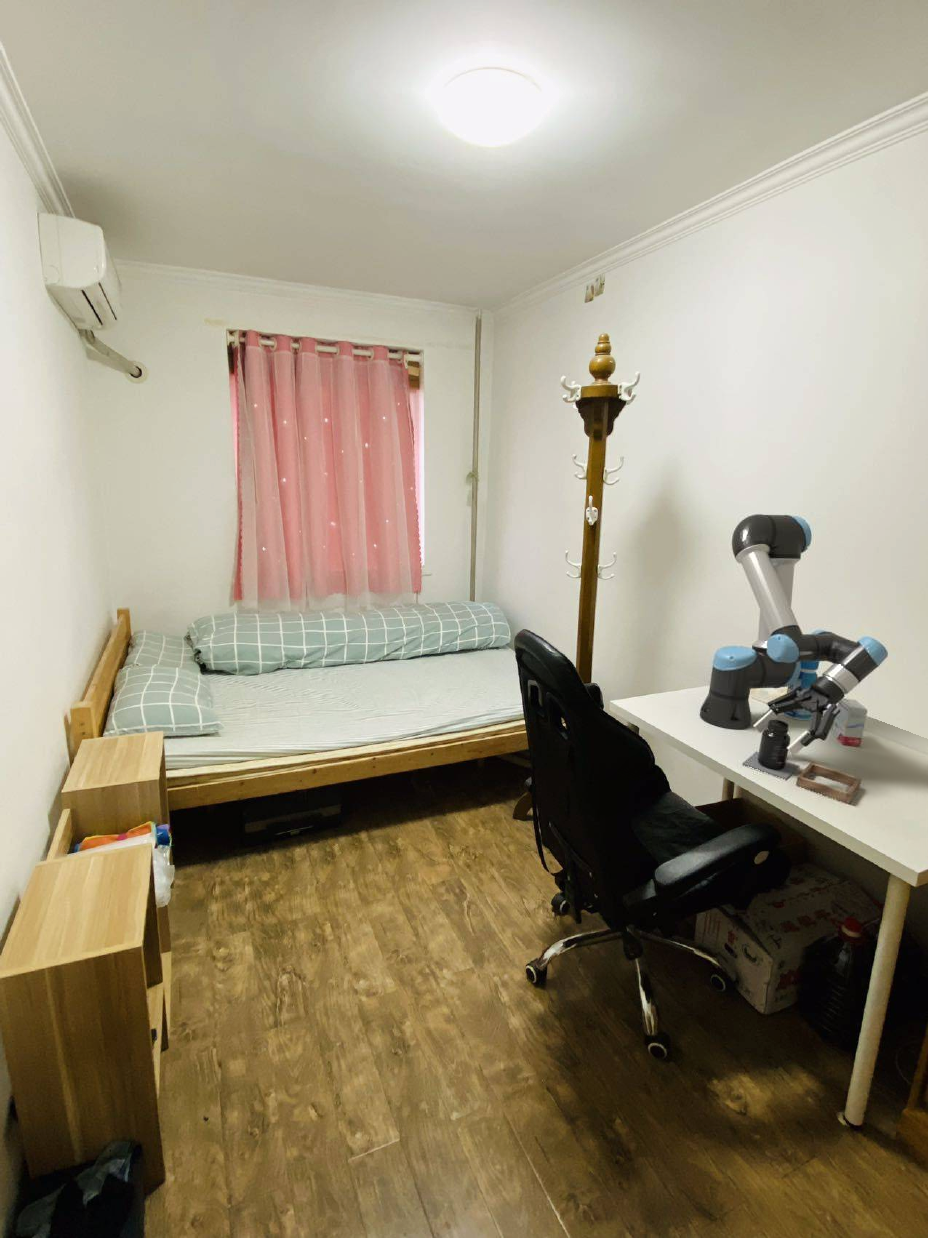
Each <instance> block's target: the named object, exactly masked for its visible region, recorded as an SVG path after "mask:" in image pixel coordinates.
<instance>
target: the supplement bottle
mask: <svg viewBox="0 0 928 1238" xmlns="http://www.w3.org/2000/svg"><path fill="white" fill-rule="evenodd" d="M789 727H790V726H789V724H788V723H787V722H785V721H783V720H778V719H775V720H770V721H769V722H768V726H767V727H766V728H765V729H764V730H763V731H762V732H761V737H760V743H759V749H758V752H759V753H758V762H759V764H761V765H762V766H764V767H766V768H769V769H774V770H781V769H783V768H784V767H785V765H786V761H787V760H788V754H789V750H788V749H787V747H788V746H789V745H790V744H791V736H790V735H789ZM787 762H788V761H787Z"/></svg>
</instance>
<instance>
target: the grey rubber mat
mask: <svg viewBox="0 0 928 1238" xmlns="http://www.w3.org/2000/svg"><path fill="white" fill-rule="evenodd" d="M758 753H759V751H755V752H753V754H751V755H750V756H749V757H748V758H747V759H746V760H744V761H743V762H742V763H741V765H742V764H743V765H742V766H744V765H745V766H744V767H746V766H749V767H752V768H754V769H753V770H755V769H758V770H760V771H759V772H761V771H762V772H761V773H764V772H766V773H765V774H767V773H768V774H767V775H769V774H772V775H774V776H773V777H775V776H777V777H776V778H778V777H780V778H779V779H781V778H783V779H782V780H784V779H785V780H784V781H787V780H788V779H789V778H790V777H791V776H792V775H793V773H795V771H796V770H797V769H798V768H799V767H800V765H799V764H796V763H794V762H791V761H786V765H785V767H784V768H783V769H781V770H774V769H769V768H766V767H764V766H762V765H761V764H759V762H758ZM749 767H748V768H749ZM752 768H751V769H752ZM758 770H757V771H758ZM772 775H771V776H772ZM787 778H788V779H787ZM786 779H787V780H786Z"/></svg>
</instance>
